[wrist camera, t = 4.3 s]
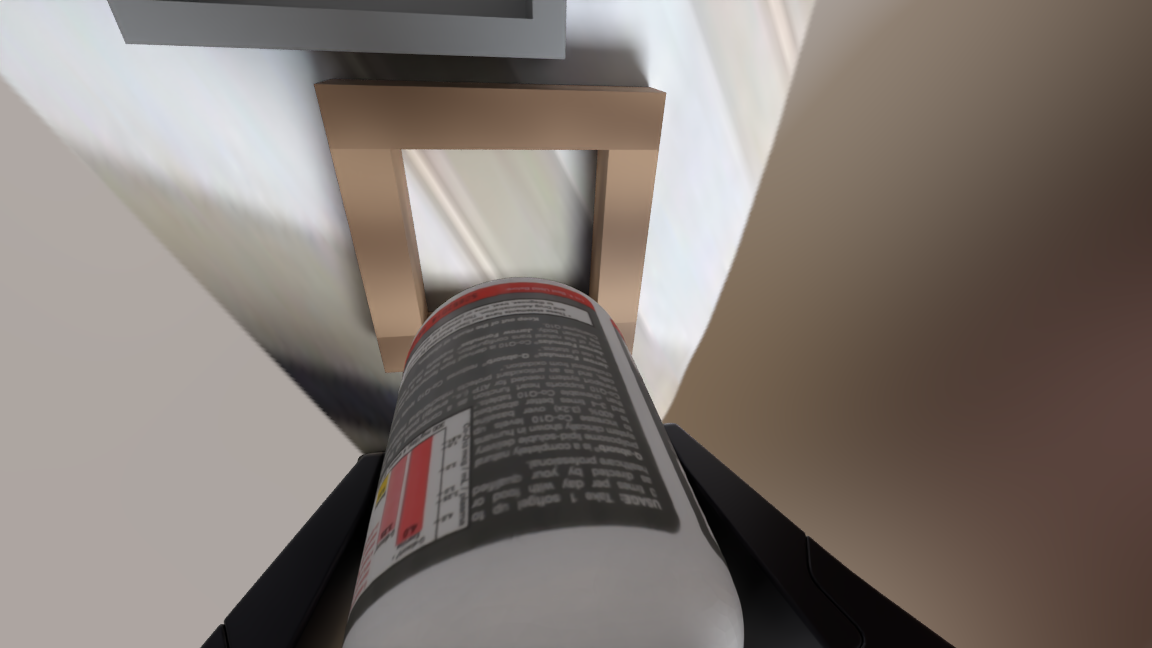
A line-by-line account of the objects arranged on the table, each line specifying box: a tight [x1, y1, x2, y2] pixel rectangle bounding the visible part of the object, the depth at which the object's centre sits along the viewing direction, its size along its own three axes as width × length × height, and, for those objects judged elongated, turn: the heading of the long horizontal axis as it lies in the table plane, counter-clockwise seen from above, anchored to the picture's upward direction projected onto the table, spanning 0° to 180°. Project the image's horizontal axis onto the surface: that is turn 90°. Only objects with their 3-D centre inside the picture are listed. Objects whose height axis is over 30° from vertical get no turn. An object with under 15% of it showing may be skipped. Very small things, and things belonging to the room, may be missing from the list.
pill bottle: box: [342, 277, 744, 648], centre depth 8 cm, size 6×6×10 cm
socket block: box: [314, 79, 666, 373], centre depth 20 cm, size 12×12×2 cm
